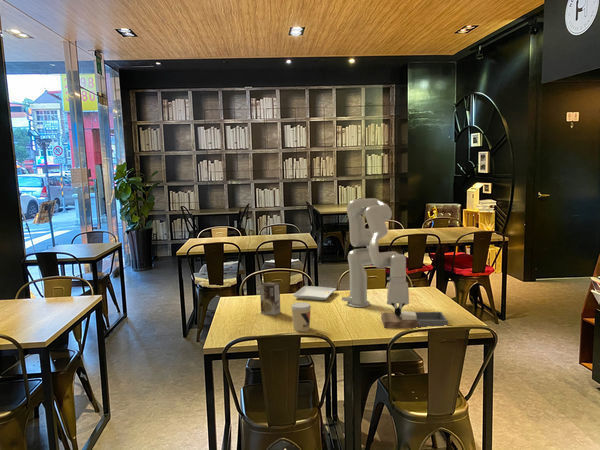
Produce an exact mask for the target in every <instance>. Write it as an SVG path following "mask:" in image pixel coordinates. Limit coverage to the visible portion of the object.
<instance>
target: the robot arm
mask: <svg viewBox="0 0 600 450" xmlns="http://www.w3.org/2000/svg"><path fill="white" fill-rule="evenodd" d="M392 211H393V210H392V209H391V207H390V206H389V205H388V204H387V203H386V202H383V201H382V200H380V199H378V198H372V197H371V198H370V197H369V198H357V199H352V200H350V201H349V202H348V204H347V206H346V215H347V217H348V222H349V223H348V224H349V242H350V244H351V246H352V247H355V248H356V247H360V248H356V249H352V250H350V251H349V252H348V255H347V261H348V268H349V295H348V296H347V297H345V296H341V301H343V302H346V303H347V304H346V305H347V306H349V307H352V308H366V307H369V306H370V304H371V303H370V301H369V300H368V275H367V274H368V273H367V271H366V269H365V267H364V266H371V265H374V267H375V268H378V269H383V268H390V269H389V271H390V272H389V276H388V277H386V280H387V281H388V285H387V286H388V287H387V292H386V293H387V296H386V297H387V298H386V299H387V301H386V304H387V305H389V306H392V307H393V309H394V313H395V314H396V316H397V317H398V316H399V317H400V314H401V311H402V308H403V307H404V306H408V305H409V304H410V295H409V294H410V293H409V283H408V282H407V277H406V276H407V258H406V255H405V254H401V253H399V252H396V251H393V250H392V251H385V252H383V251H382V252H380V251H379V240H380V239H383V238H384V237H385V236H387V235H388V233H389V231H388V226H387V224H386V222H385V221H389V220H391V218H392V215H393V213H392ZM362 215H364V217H365V219H364V218H363V216H362ZM365 220H366V222H365ZM366 223H367V225H368V228H366ZM361 247H366V248H361ZM397 304H398V306H397Z"/></svg>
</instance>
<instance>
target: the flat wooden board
mask: <svg viewBox="0 0 600 450" xmlns="http://www.w3.org/2000/svg"><path fill="white" fill-rule="evenodd" d="M380 315H381V317H380V318H381V319H380V320H381V322H382V324H383V329H417V328H416V327H418V321H417V320H402V319H401V316H400V317H399V316H398V317H397V316H396V314H395V312H381V314H380ZM418 328H419V327H418Z"/></svg>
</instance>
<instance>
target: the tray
mask: <svg viewBox="0 0 600 450" xmlns="http://www.w3.org/2000/svg"><path fill="white" fill-rule="evenodd" d="M414 312H415V314H416V316H417V321H418V328H419V327H427V326H444V325H448V324H449V320H448V319H447V318H446V317H445V315H444V314H443V312H442V311H414ZM448 326H449V325H448Z"/></svg>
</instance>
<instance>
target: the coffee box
mask: <svg viewBox="0 0 600 450" xmlns="http://www.w3.org/2000/svg"><path fill="white" fill-rule="evenodd" d="M280 287H281V284H280V282H269V281H267V282H262V283H261V284H259V292H260V293H259V294H260V295H259V297H260V298H259V300H260V313H261V315H268V316H269V315H270V316H277V315H278V314H280V313H281V293H280V292H281V291H280V290H281V289H280Z"/></svg>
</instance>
